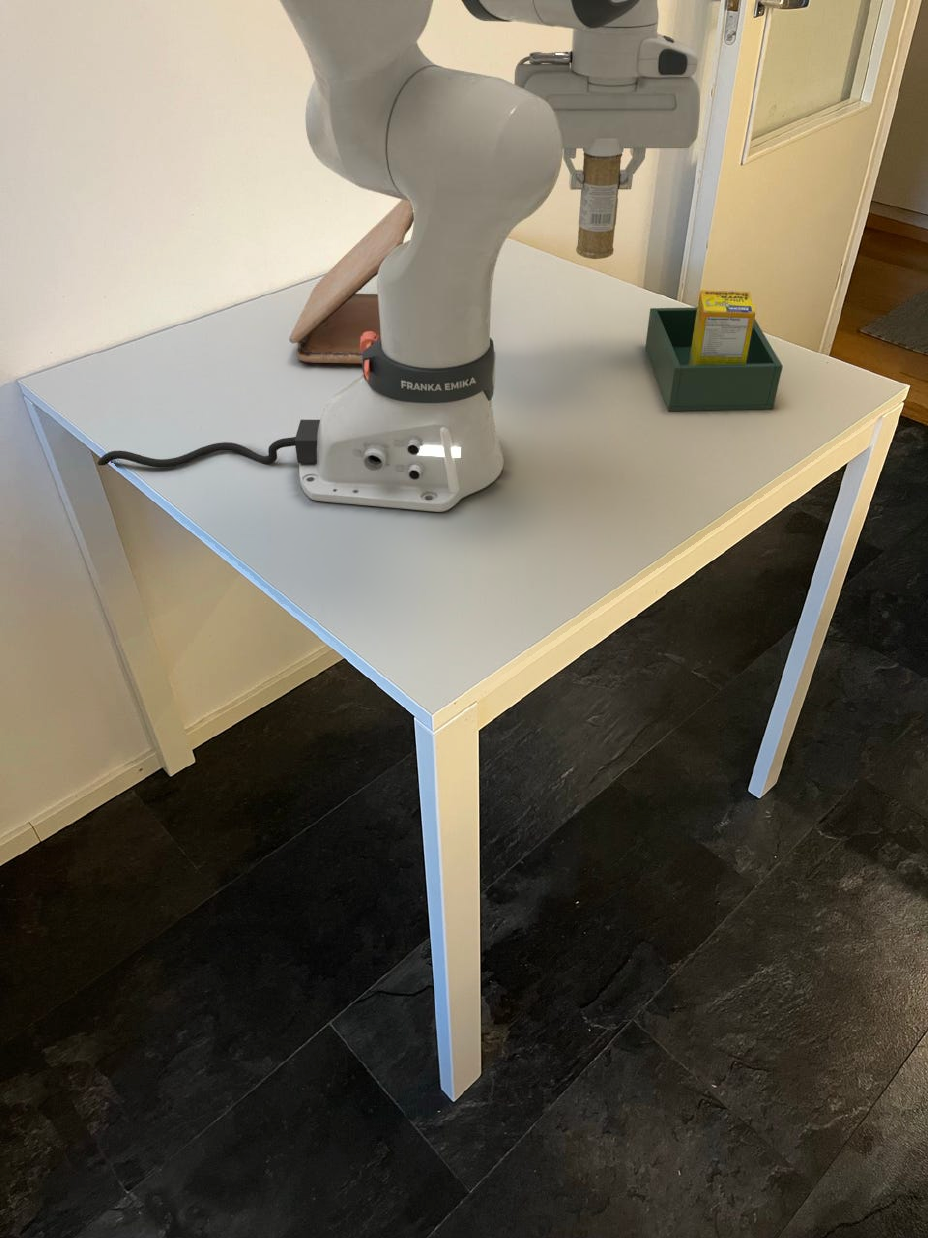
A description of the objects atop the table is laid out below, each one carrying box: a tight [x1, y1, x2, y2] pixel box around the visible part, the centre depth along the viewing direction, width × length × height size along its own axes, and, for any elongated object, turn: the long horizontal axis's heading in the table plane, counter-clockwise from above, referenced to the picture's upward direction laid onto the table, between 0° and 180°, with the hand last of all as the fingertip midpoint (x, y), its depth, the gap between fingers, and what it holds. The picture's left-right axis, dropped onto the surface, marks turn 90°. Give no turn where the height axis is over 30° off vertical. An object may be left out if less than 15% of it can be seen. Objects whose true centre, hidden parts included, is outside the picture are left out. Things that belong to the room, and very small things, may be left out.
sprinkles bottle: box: [575, 138, 625, 260], centre depth 112 cm, size 5×5×13 cm
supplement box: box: [689, 290, 756, 365], centre depth 114 cm, size 6×6×11 cm
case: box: [288, 199, 414, 365], centre depth 126 cm, size 20×21×16 cm
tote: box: [644, 306, 784, 412], centre depth 119 cm, size 13×17×6 cm
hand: (600, 188), depth 111 cm, fingers closed on sprinkles bottle, 4 cm apart
